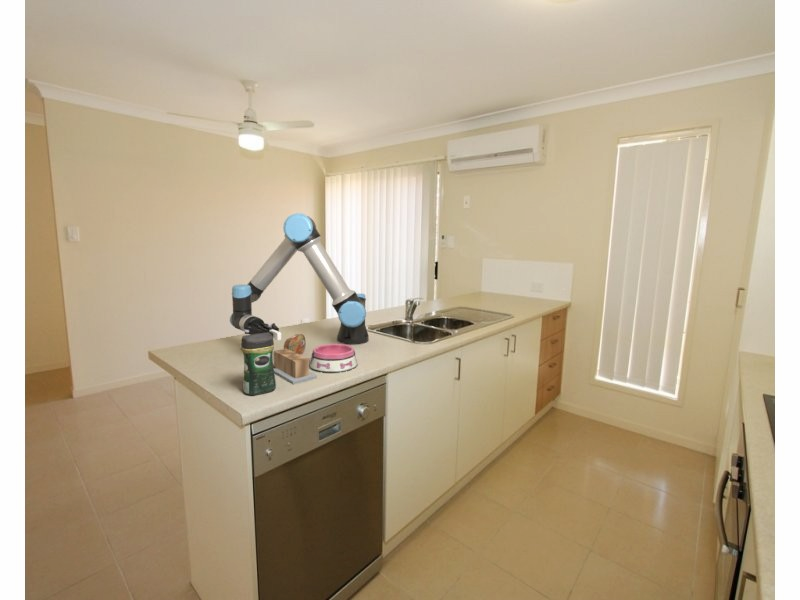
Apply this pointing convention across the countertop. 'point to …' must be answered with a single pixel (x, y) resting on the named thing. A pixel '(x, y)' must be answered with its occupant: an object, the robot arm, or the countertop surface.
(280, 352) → the walnut block
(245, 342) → the coffee jar
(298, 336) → the tin
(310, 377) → the mat
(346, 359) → the dog bowl
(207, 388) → the countertop surface
